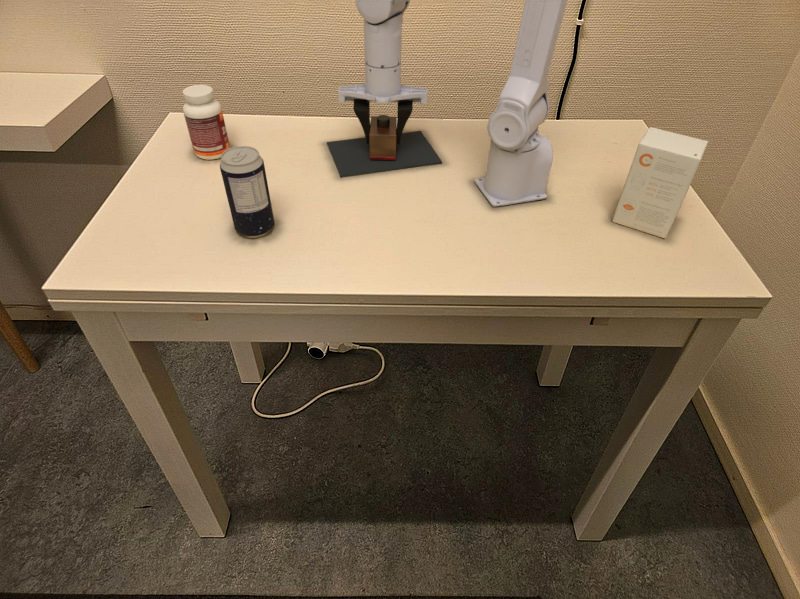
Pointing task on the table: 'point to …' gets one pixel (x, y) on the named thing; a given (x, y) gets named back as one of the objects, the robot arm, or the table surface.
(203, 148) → the pill bottle
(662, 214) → the small box
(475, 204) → the table surface
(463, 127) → the table surface
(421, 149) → the desk mat
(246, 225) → the beverage can
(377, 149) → the stamp
